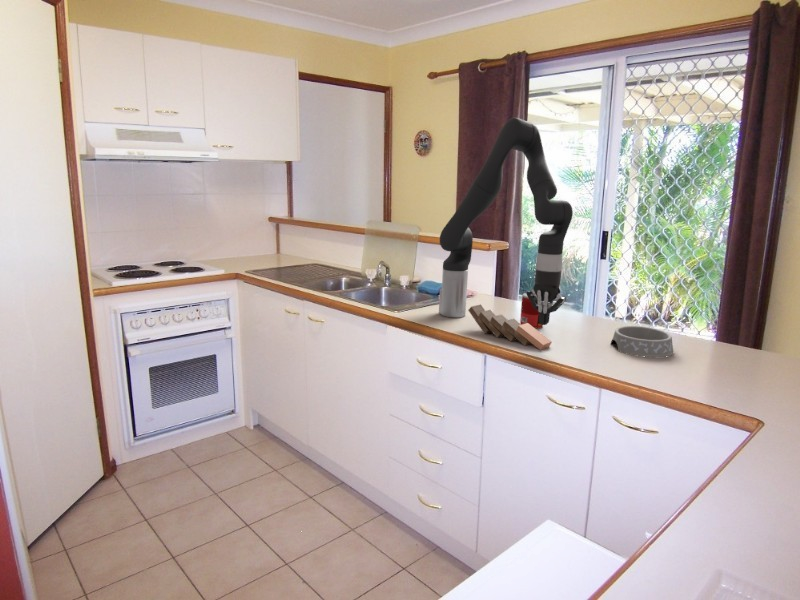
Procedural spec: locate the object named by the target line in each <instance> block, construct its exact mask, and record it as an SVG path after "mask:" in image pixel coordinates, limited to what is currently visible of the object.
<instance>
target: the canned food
mask: <svg viewBox="0 0 800 600" xmlns="http://www.w3.org/2000/svg"><path fill="white" fill-rule="evenodd" d="M526 293H527V292H524V293H523V294H522V297H521V307H520V320H519V323H520V324H521V325H522V324H526V323H529V324H530V325H531V326H532V327H534V328H535V329H540V328H541V329H542V327H543V326H544V325H541V324H540V322H539V311H538V310H537V309H534V308H533V306H532V304H531V302H530V300H529V298H528V296H527V294H526ZM536 297H537V296H536ZM537 299H538V298H537Z"/></svg>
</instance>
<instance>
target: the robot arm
mask: <svg viewBox="0 0 800 600" xmlns="http://www.w3.org/2000/svg"><path fill="white" fill-rule="evenodd" d="M494 142H495V143H494V145H493V146H492V148H491V151H490V152H489V155H488V156H487V158H486V160H485V162H484V164H483V165H482V167H481V169H480V171H479V172H478V174H477V175H476V177H475V179H474V180H473V182H472V184H471V185H470V187H469V189H468V191H467V192H466V194H465V196H464V197H463V199H462V201H461V202H460V204H459V206H458V207H457V209H456V211H455V213H454V214H453V215H452V217H450V219H449V220H448V222H447V223H446V224H445V226H444V227H443V229H442V230H441V231H440V236H439V245H440V247H441V248H442V249H443V250H444V251H445V252H450V253H449V256H447V258H446V259H444V260H443V262H442V281H441V288H440V289H439V297H438V298H439V303H438V313H439V314H440V315H441V316H442V317H446V318H447V317H448V318H462V317H466V314H467V313H466V312H467V297H468V296H467V295H468V293H467V292H468V280H469V279H468V277H469V276H468V275H469V265H470V264H471V260H472V253H473V243H474V242H473V240H474V239H473V232H472V231H471V228H470V226H471V225H472V223H473V222H474V221H475V220H477V218H478V217H479V216H481V215H482V214H483V213H484V212H486V210H487V209H489V208H490V206H491V205H493V202H494V201H495V199H496V198H497V197H498V194H499V193H500V192H501V189H502V186H503V173H504V171H503V169H504V164H505V161H506V159H507V157H508V155H509V153H510V152H511V151H512V150H515V151H518V152H522V154H523V155H524V157H525V158H526V160H527V161H528V167H527V170H526V179H527V181H526V182H527V183H528V186H529V188H530V191H531V194H532V198H533V203H534V216H535V217H534V218H535V219H536V220H537V221H538V223H539V224H541V225H545V226H547V225H549V226H551V225H553V226H552V228H551V229H550V230H549V231H546V232H543V233H541V234H540V235H539V236H538V237H539V239H538V248H537V256H536V262H535V272H534V285H533V288H532V289H531V290H528V291H527V292H525V293H526V294H527V296H528V298H529V300H530V302H531V304H532V306H533V308H534V309H537V310H538V311H539V322H540V324H541V325H543V326H547V325H548V324H549V322H550V317H551V316H550V315H551V313H555V312H557V311H558V310H559V309H560V307H561V306H562V305H563V304H564V303H565V302H566V301H567V297H565V296H564V297H563V295H562V294H561V289H560V285H561V280H562V279H561V278H562V271H563V270H562V268H563V251H564V242H565V241H564V240H565V238H566V235H567V233H568V230H569V227H570V225H571V222H572V218H573V207H572V204H571V203H570V201H568V200H565V199H564V200H563V199H562V200H561V199H560V200H558V199H557V200H556V199H555V200H553V199H554V198H555V197H556V195H557V193H558V188H557V185H556V184H555V181H554V178H553V175H552V174H551V171H550V169H549V167H548V164H547V160H546V155H545V152H544V147H543V143H542V138H541V134H540V130H539V129H538V127H537V125H536V124H534V123H532V122H530V121H527V120H524V119H523V118H518V117H511V118H509V119H508V120H507V121H506V122H505V124H504V125H503V127H502V128H501V129H500V131H499V133H498V134H497V137H496V139H495V141H494ZM536 296H537V297H536ZM537 298H538V299H537Z"/></svg>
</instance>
